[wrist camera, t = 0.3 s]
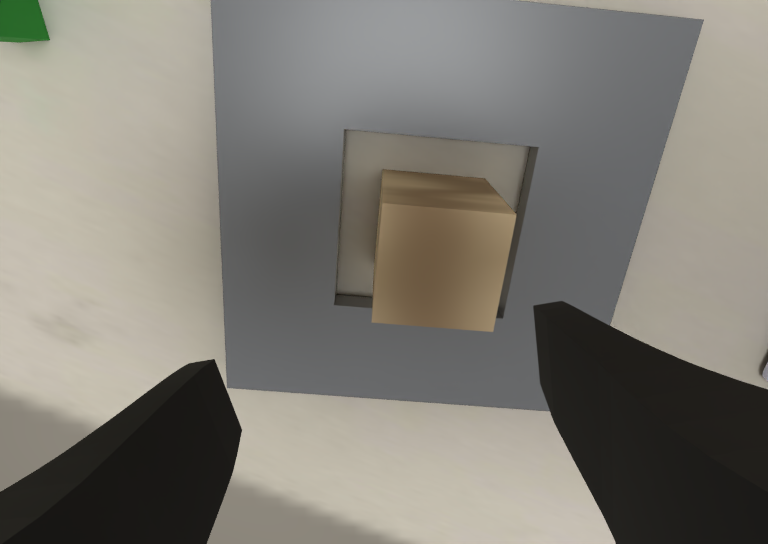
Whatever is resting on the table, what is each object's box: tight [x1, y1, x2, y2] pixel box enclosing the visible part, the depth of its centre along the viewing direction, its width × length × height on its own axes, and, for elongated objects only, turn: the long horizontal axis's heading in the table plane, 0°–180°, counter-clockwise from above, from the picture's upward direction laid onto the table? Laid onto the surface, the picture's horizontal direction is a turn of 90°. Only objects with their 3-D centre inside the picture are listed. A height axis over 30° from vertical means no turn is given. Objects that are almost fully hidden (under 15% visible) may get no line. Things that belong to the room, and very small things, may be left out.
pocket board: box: [211, 0, 704, 411], centre depth 19 cm, size 16×16×1 cm
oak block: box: [372, 169, 517, 332], centre depth 18 cm, size 4×4×5 cm
